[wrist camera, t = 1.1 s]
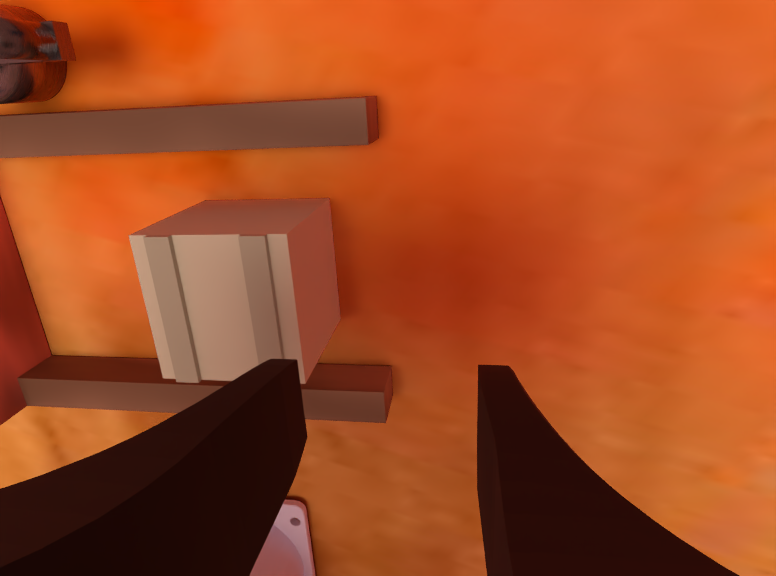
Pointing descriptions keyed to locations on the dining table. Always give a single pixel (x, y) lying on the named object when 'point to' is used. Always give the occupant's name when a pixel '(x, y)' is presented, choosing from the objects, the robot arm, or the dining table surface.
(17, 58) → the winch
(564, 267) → the dining table surface
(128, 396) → the bay
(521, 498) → the robot arm
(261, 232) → the crate
